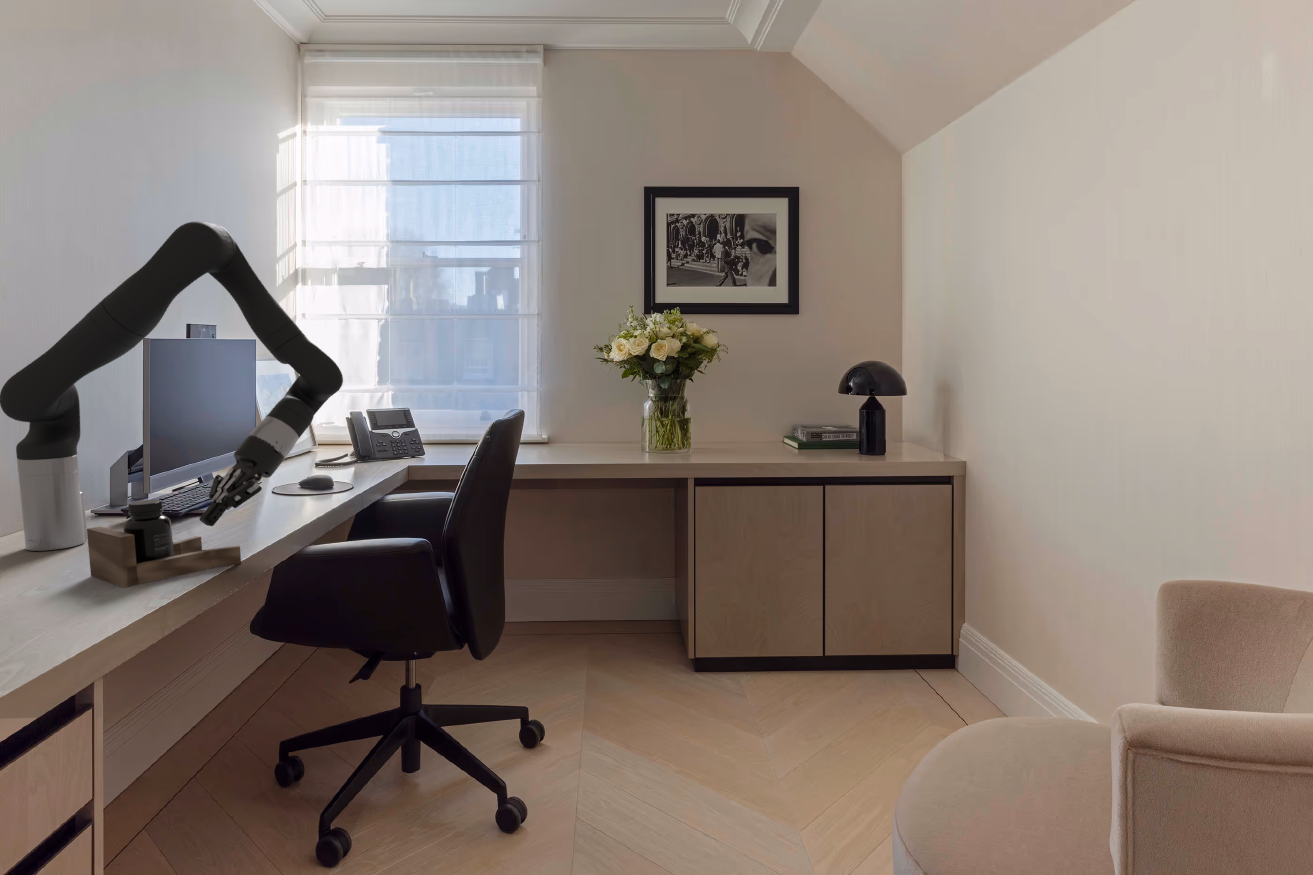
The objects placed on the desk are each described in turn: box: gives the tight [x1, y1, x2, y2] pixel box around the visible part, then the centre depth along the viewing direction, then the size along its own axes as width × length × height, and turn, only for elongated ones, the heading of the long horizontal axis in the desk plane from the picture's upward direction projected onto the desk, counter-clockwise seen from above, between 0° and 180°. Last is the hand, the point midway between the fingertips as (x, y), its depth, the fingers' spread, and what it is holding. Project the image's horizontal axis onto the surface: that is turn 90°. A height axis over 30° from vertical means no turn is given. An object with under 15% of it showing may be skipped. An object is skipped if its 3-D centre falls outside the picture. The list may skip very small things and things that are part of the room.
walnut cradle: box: [86, 526, 242, 588], centre depth 139 cm, size 18×15×8 cm
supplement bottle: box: [122, 499, 174, 564], centre depth 137 cm, size 7×7×12 cm
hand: (205, 523), depth 144 cm, fingers closed
